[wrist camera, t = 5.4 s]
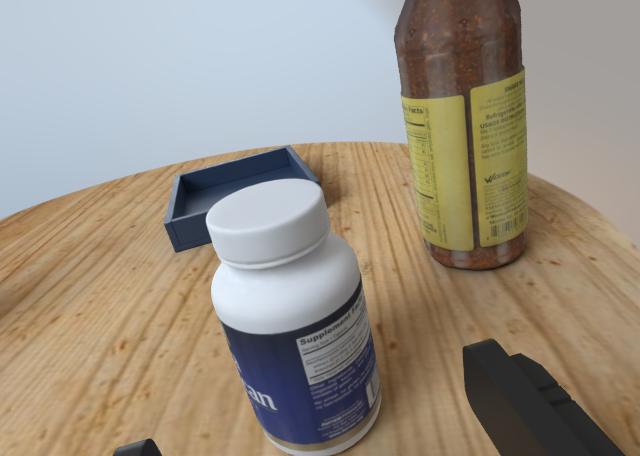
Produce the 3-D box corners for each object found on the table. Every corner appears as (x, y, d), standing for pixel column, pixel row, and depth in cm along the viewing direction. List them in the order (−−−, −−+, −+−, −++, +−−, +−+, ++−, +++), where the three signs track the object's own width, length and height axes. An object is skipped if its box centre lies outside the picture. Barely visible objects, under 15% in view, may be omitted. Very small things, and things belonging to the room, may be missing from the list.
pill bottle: (238, 407, 19) (159, 215, 15) (329, 342, 21) (285, 162, 17) (308, 494, 15) (228, 262, 10) (410, 401, 17) (378, 184, 13)
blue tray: (294, 167, 49) (289, 144, 48) (325, 209, 37) (319, 180, 35) (183, 197, 47) (175, 175, 46) (175, 252, 35) (163, 224, 34)
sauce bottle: (518, 222, 28) (523, -154, 19) (537, 275, 23) (555, -208, 14) (419, 228, 30) (383, -111, 21) (415, 278, 25) (366, -144, 16)
